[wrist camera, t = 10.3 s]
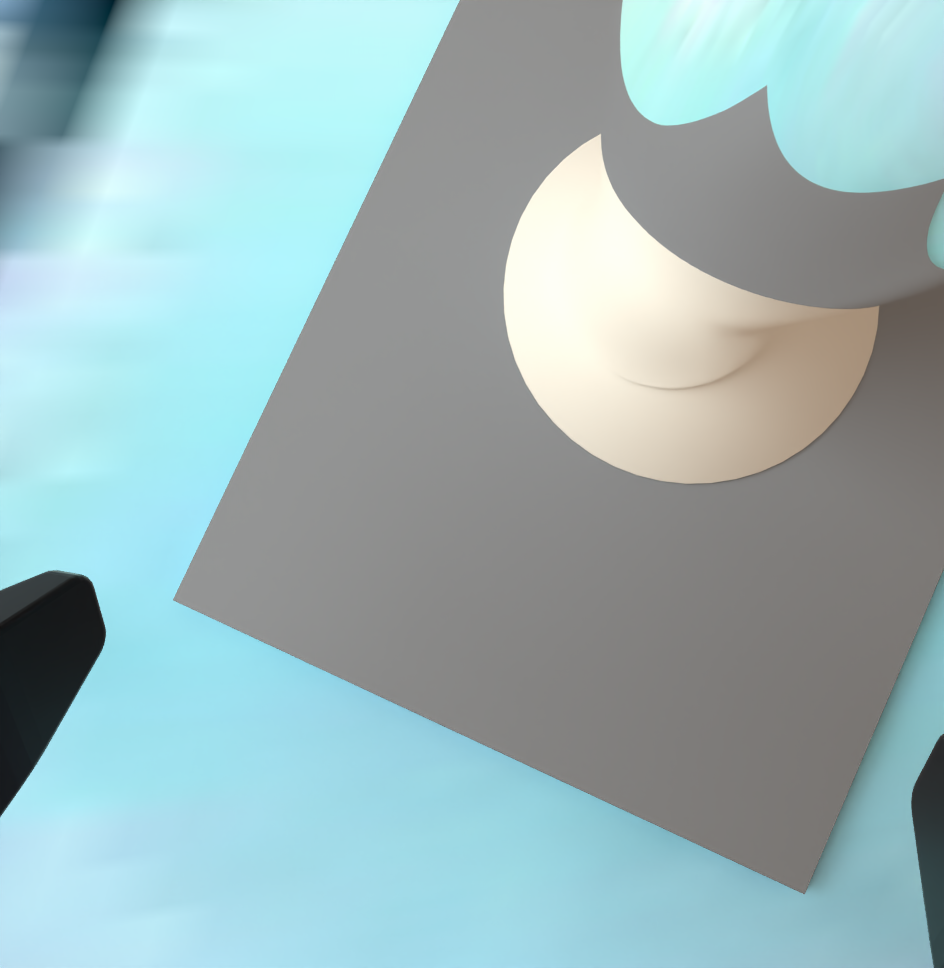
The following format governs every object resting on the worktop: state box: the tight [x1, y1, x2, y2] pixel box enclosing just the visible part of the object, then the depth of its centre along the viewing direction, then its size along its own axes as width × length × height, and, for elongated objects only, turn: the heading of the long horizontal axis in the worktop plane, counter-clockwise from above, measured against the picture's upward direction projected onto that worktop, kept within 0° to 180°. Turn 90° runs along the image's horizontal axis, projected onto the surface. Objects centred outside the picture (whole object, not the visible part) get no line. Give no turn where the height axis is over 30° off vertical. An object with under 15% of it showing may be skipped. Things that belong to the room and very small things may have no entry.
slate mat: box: [173, 0, 944, 894], centre depth 20 cm, size 22×18×1 cm
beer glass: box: [556, 0, 944, 389], centre depth 13 cm, size 7×7×15 cm
